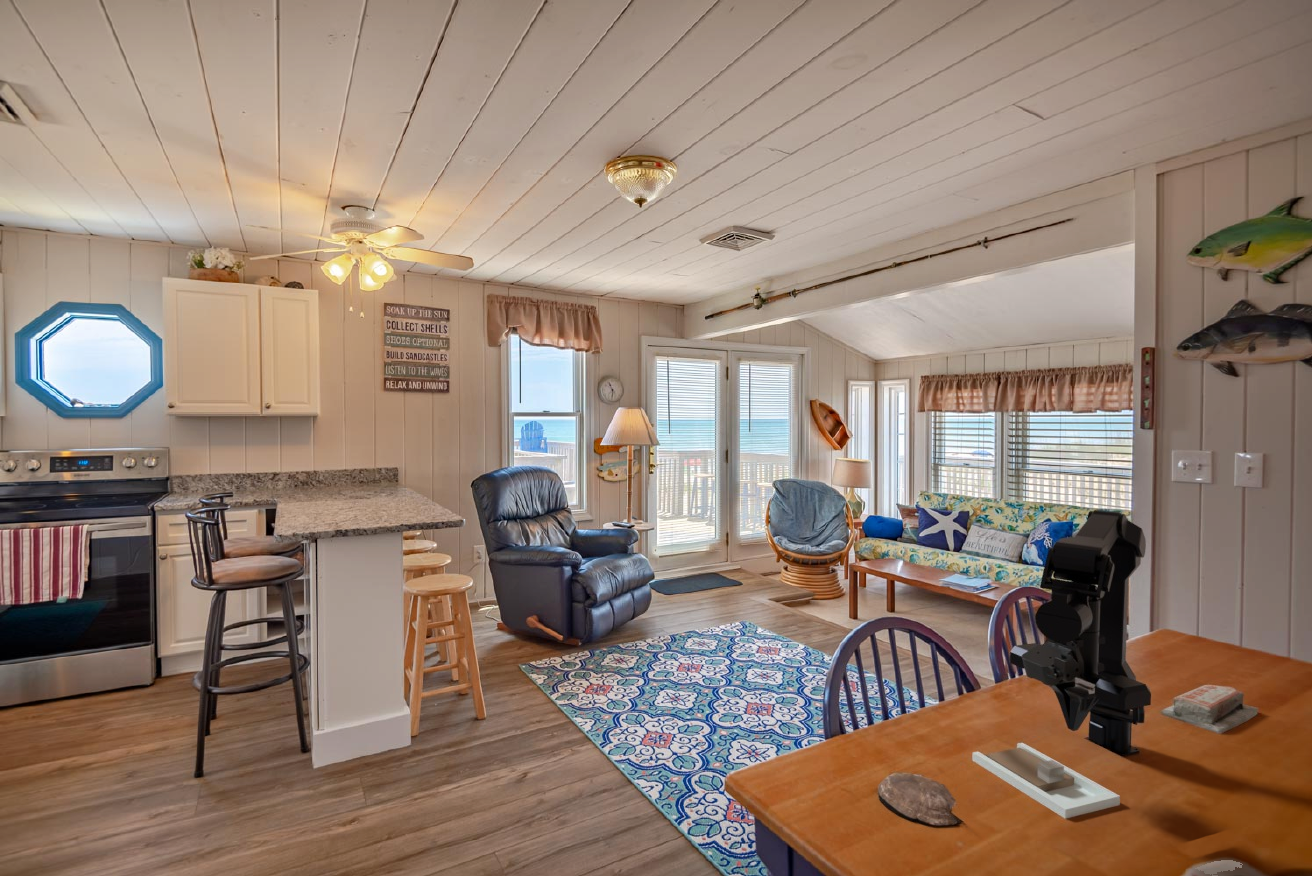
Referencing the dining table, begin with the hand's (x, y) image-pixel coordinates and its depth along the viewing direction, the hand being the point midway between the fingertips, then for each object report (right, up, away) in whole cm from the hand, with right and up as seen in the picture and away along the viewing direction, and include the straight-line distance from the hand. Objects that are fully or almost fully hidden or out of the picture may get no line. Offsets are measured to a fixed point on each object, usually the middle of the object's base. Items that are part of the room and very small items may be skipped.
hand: (1072, 729), depth 99 cm
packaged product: (+49, -12, +34) cm, 61 cm away
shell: (-22, -12, +2) cm, 26 cm away
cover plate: (-3, -10, +7) cm, 13 cm away
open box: (-2, -12, +5) cm, 13 cm away
